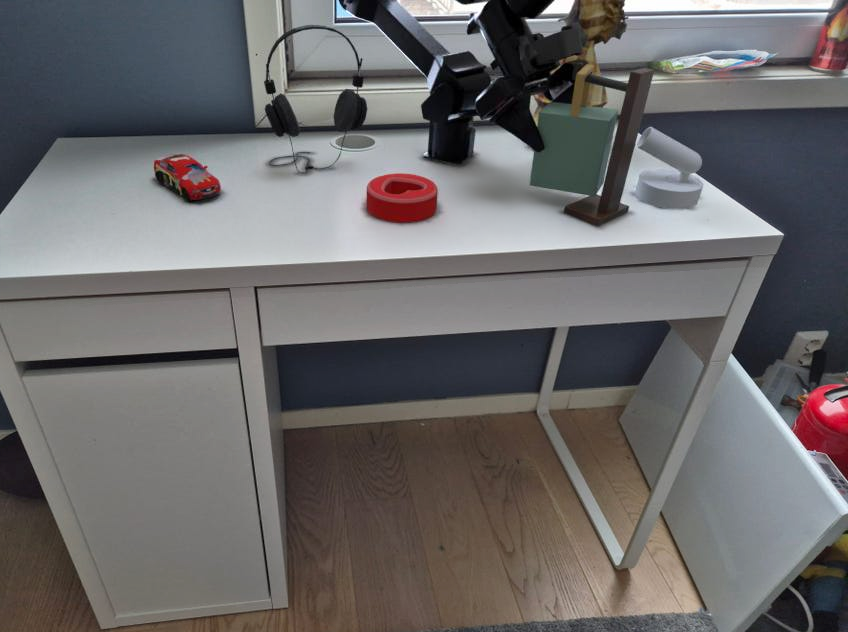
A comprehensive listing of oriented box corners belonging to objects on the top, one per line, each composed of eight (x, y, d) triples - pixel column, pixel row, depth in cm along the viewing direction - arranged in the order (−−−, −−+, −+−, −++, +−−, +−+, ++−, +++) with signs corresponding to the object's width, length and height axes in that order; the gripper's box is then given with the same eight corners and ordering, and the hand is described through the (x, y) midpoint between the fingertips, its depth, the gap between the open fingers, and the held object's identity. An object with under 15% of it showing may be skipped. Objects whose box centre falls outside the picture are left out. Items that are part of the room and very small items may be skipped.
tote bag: (529, 185, 91) (544, 70, 82) (540, 173, 95) (555, 61, 85) (594, 196, 87) (618, 77, 78) (603, 183, 91) (626, 67, 82)
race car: (227, 198, 92) (224, 170, 89) (192, 207, 89) (188, 179, 87) (184, 170, 100) (180, 144, 98) (151, 178, 97) (146, 151, 95)
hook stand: (534, 201, 92) (559, 60, 81) (565, 189, 96) (592, 52, 85) (598, 226, 86) (634, 77, 75) (627, 212, 89) (666, 68, 78)
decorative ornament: (395, 188, 95) (396, 167, 93) (449, 206, 90) (451, 184, 88) (352, 208, 89) (351, 186, 87) (408, 229, 84) (409, 206, 83)
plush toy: (509, 119, 119) (546, -32, 100) (581, 120, 120) (631, -28, 101) (528, 163, 110) (574, 6, 91) (606, 164, 111) (666, 9, 92)
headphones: (349, 148, 109) (349, 14, 97) (371, 172, 100) (373, 28, 88) (260, 157, 105) (248, 18, 93) (274, 182, 96) (263, 34, 84)
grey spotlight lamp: (638, 117, 93) (712, 122, 91) (621, 182, 98) (691, 187, 97) (646, 136, 86) (727, 142, 84) (628, 205, 92) (703, 211, 90)
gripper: (504, 7, 77) (563, 124, 77) (595, -6, 87) (648, 98, 87) (450, 66, 87) (503, 170, 87) (538, 47, 97) (585, 141, 97)
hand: (562, 143), depth 89 cm, fingers open, 9 cm apart
